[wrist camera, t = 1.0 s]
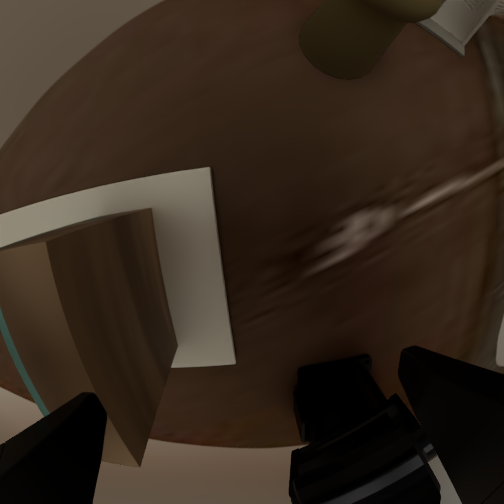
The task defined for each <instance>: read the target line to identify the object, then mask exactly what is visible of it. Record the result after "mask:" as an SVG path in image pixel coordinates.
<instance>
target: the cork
mask: <svg viewBox="0 0 504 504" xmlns="http://www.w3.org/2000/svg"><path fill="white" fill-rule="evenodd" d="M442 3H443V0H324V1H323V3H322V4H321V5H320V6H319V7H318V8H317V10H316V11H315V12H314V13H313V14H312V16H311V17H310V18H309V19H308V20H307V22H306V23H305V24H304V25H303V27H302V29H301V32H300V35H299V40H300V47H301V49H302V51H303V53H304V55H305V57H306V58H307V59H308V60H309V61H310V62H311V63H312V64H313V65H314V66H315V67H316V68H318V69H319V70H321V71H322V72H324V73H326V74H328V75H331V76H333V77H336V78H341V79H348V80H350V79H356V78H361V77H362V76H364V75H366V74H367V73H369V71H370V70H371V69H372V67H373V66H374V65H375V64H376V62H377V61H378V60H379V58H380V57H381V56H382V55H383V53H384V52H385V51H386V49H387V48H388V47H389V46H390V44H391V43H392V42H393V40H394V39H395V38H396V37H397V35H398V34H399V33H400V32H401V30H402V29H403V28H404V26H405V25H406V24H407V23H416V22H420V21H423V20H426V19H428V18H430V17H432V16H433V15H435V14H436V13H437V11H438V10H439V8H440V7H441V5H442Z"/></svg>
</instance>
